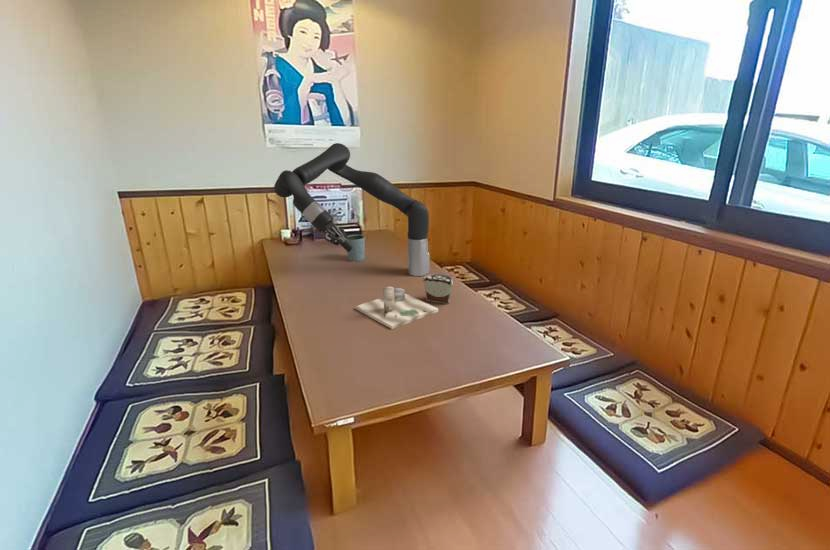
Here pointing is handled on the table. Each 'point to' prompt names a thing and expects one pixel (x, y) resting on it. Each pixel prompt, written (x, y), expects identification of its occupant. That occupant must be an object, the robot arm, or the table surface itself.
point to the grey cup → (356, 247)
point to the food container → (438, 287)
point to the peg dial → (392, 297)
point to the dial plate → (397, 311)
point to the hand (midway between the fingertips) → (350, 250)
